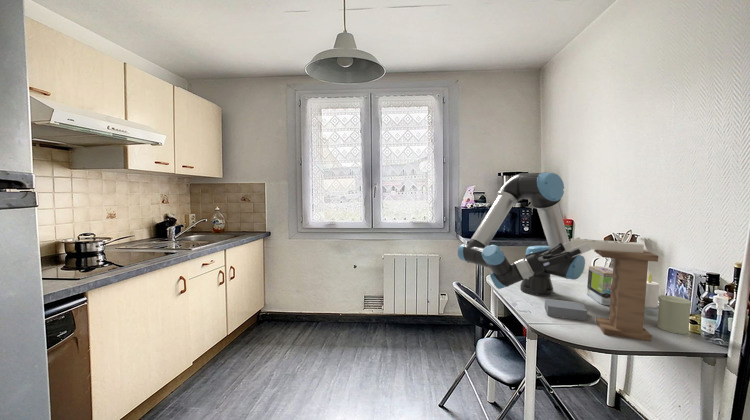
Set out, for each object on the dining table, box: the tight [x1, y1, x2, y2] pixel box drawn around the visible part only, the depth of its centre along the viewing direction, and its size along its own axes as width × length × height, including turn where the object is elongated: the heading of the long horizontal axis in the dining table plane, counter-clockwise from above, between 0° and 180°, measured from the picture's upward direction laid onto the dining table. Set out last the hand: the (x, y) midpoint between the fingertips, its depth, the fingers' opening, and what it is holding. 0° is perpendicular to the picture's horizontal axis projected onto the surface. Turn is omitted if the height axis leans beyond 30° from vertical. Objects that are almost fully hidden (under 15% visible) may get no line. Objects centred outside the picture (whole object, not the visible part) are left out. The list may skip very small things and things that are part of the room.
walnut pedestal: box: [593, 249, 659, 342], centre depth 125 cm, size 12×16×30 cm
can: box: [656, 294, 692, 335], centre depth 128 cm, size 9×9×12 cm
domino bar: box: [570, 238, 645, 253], centre depth 126 cm, size 4×22×3 cm, turn 70°
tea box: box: [586, 265, 613, 306], centre depth 159 cm, size 15×10×15 cm, turn 171°
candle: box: [645, 272, 660, 309], centre depth 153 cm, size 6×6×15 cm
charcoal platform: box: [544, 298, 588, 322], centre depth 142 cm, size 10×14×4 cm
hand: (584, 243), depth 128 cm, fingers open, 13 cm apart
